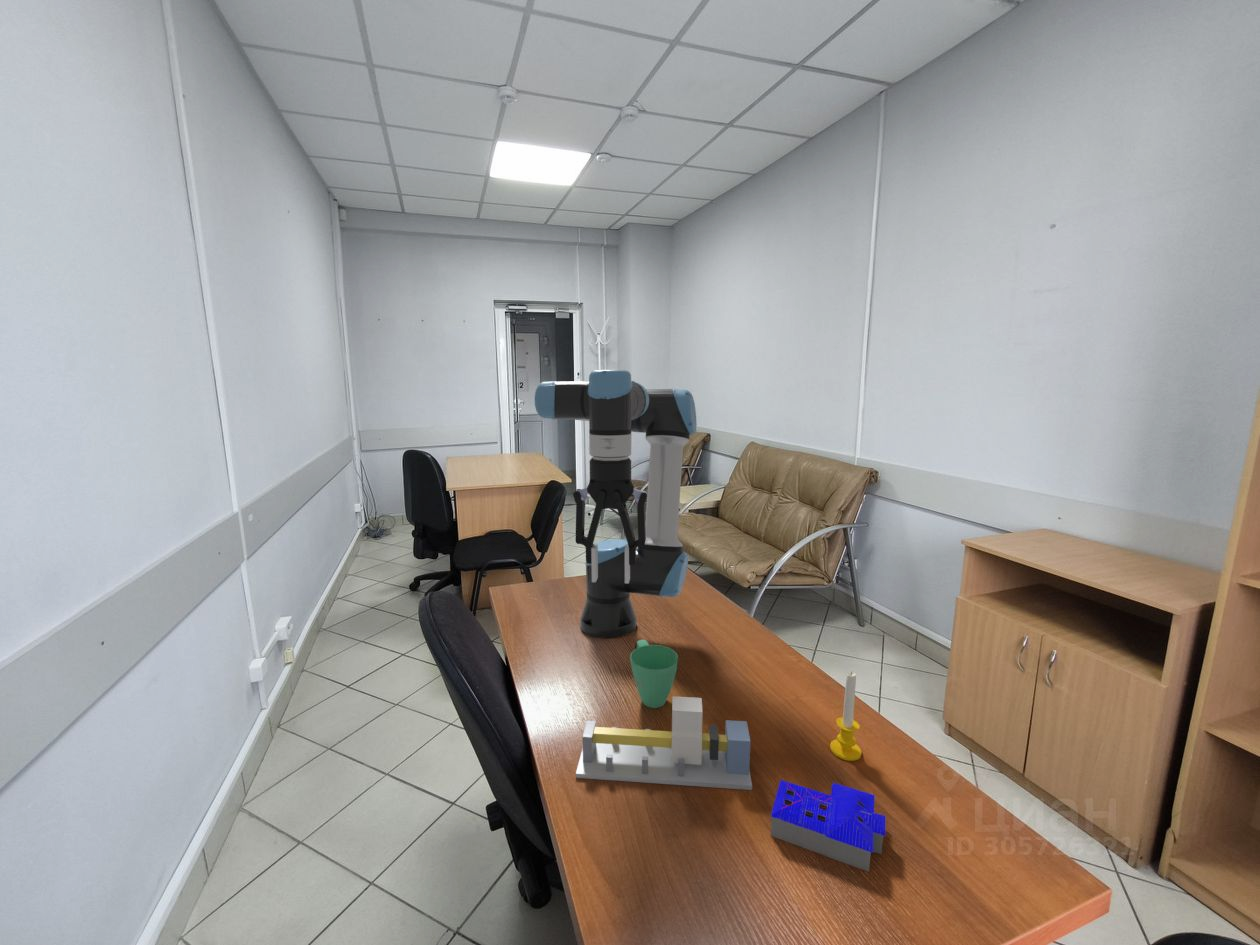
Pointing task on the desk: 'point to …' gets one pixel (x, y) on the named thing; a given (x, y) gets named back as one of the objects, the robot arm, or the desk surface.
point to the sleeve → (687, 730)
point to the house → (829, 822)
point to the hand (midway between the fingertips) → (611, 579)
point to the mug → (653, 672)
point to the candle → (847, 725)
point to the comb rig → (666, 757)
